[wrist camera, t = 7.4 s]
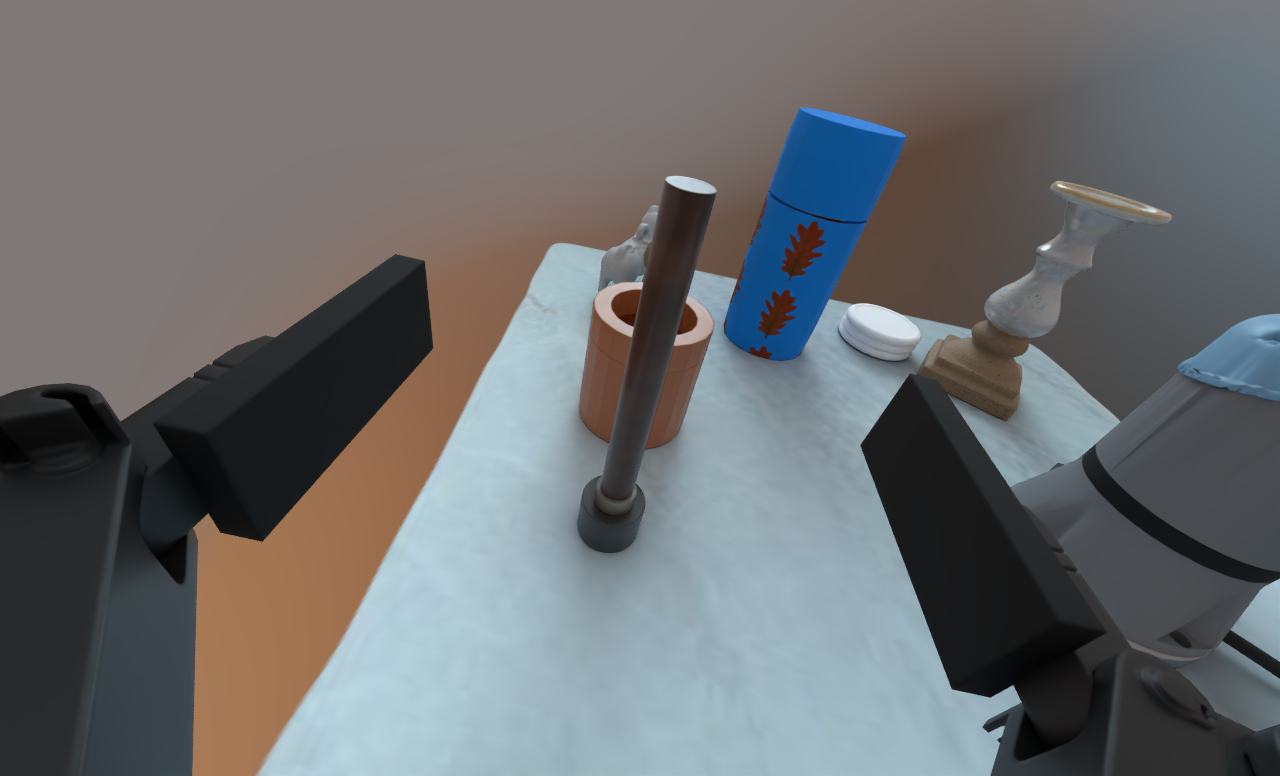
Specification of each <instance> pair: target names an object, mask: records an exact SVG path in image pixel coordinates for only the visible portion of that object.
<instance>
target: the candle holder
mask: <svg viewBox="0 0 1280 776" xmlns="http://www.w3.org/2000/svg"><path fill="white" fill-rule="evenodd" d="M1050 192H1051V193H1053V194H1054V195H1056V196H1058V197H1060V198H1062V199H1064V200H1067V201H1068V206H1067V208H1066V210H1065V213H1064V217H1065V224H1064V227H1063V229H1062V231H1061V232H1060V234H1059V235H1058V236H1057V237H1055V238H1054V239H1053V240H1051V241H1050V242H1048V243H1046V244H1044V245H1041V246H1039V247H1038V248H1037V252H1038V256H1037V258H1036V265H1035V267H1034V269H1033V271H1031V272H1030V273H1029V274H1027V275H1026V276H1024V277H1023V278H1021V279H1019V280H1018V281H1015V282H1013V283H1012V284H1009V285H1007V286H1005V287H1003V288H1001V289H999V290H997V291H996V292H994V293H993V294H992V295H991V296H990V297H989V298H988V299H987V301H986V302H985V305H984V310H985V314H986V316H987V318H988V320H985V321H982V322H979V323H978V324H976V325H975V326H974V327H973V329H972V337H973V338H962V339H961V338H959V337H956V336H954V335H948V336H947V337H946V339H945V340H942V339H938V340H937V341H936V342H935V344H934V345H933V346H932V348H931V349H930V351H929V352H928V354H927V356H926V358H925V360H924V361H923V363H922V365H921V367H920V369H919V371H918V374H917V375H918V376H923V377H927V378H931V379H936V380H938V381H939V383H940V384H941V386H942V387H943V389H944V390H945V392H947V393H949V394H951V395H953V396H955V397H957V398H959V399H961V400H964V401H966V402H968V403H970V404H972V405H974V406H976V407H978V408H980V409H982V410H984V411H986V412H988V413H990V414H992V415H995V416H997V417H999V418H1001V419H1004V420H1008V418H1009V417H1010V416H1011V415H1012V414H1013V413H1014V412H1015V411H1016V409H1017V407H1018V402H1019V393H1020V386H1021V381H1022V367H1021V365H1019V364H1018V363H1016V361H1015V360H1014V358H1013V357H1017V356H1020V355H1022V354H1024V353H1025V352H1026V351H1027V349H1028V346H1029V343H1028V339H1027V338H1028V337H1038V336H1041V335H1044V334H1047V333H1048V332H1050V331H1051V330H1052V329H1053V328H1054V327H1055V326H1056V324H1057V322H1058V320H1059V315H1060V305H1061V302H1060V301H1061V293H1062V289H1063V286H1064V284H1065V282H1066V281H1068V280H1069V279H1070V278H1072V277H1073V276H1075V275H1078V274H1079V273H1080V272H1081V271H1082V270H1088V269H1090V268H1091V267H1092V256H1093V252H1094V250H1095V248H1096V246H1097V245H1098V244H1099V243H1100V242H1101V241H1103V240H1104V239H1105V238H1107V237H1109V236H1111V235H1113V234H1116V233H1119V232H1120V231H1122V230H1124V229H1125V228H1126V227H1127V226H1128V225H1130V224H1132V223H1134V222H1136V223H1141V224H1146V225H1153V226H1163V225H1165V224H1167V223H1168V222H1169V221H1170V220H1171V218H1172V216H1171V215H1170V214H1169V213H1166V212H1164V211H1162V210H1160V209H1157V208H1155V207H1152V206H1149V205H1146V204H1144V203H1141V202H1138V201H1135V200H1132V199H1128V198H1125V197H1122V196H1119V195H1115V194H1112V193H1108V192H1105V191H1101V190H1098V189H1094V188H1090V187H1086V186H1082V185H1078V184H1073V183H1068V182H1062V181H1056V182H1054V183H1053V184H1052V186H1051V188H1050Z"/></svg>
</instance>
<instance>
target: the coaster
mask: <svg viewBox="0 0 1280 776" xmlns="http://www.w3.org/2000/svg"><path fill="white" fill-rule="evenodd" d="M839 331H840V333H841V335H842V337H843V338H844V339H845V340H846V341H847V342H848V343H849V344H850V345H852V346H853V347H855V348H856V349H858V350H860V351H861V352H863V353H866V354H868V355H870V356H873V357H876V358H879V359H883V360H889V361H899V360H904V359H906V358H908V357H909V356H910V355H911V352H912V350H914V349H915V347H916V344H917V343H918V342H919V341H920V339H921V333H920V331H919V329H918V328H917V327H916V326H915V325H914V324H913V323H912V322H911V321H910V320H908V319H907V318H905V317H904V316H902V315H900V314H898V313H896V312H894V311H892V310H889V309H886V308H884V307H880V306H877V305H872V304H863V303H862V304H855V305H852V306H850V307H849V308H848V309H847V312H846V314H845V316H844V317H843V321H842V322H841V323H840V325H839Z"/></svg>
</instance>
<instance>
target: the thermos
mask: <svg viewBox="0 0 1280 776" xmlns="http://www.w3.org/2000/svg"><path fill="white" fill-rule="evenodd" d="M905 139H906V135H904V134H902V133H900V132H898V131H895V130H892V129H889V128H887V127H883V126H880V125H877V124H874V123H870V122H867V121H863V120H860V119H856V118H852V117H848V116H844V115H840V114H836V113H831V112H827V111H822V110H816V109H811V108H799V110H798V112H797V114H796V117H795V119H794V121H793V123H792V125H791V127H790V130H789V133H788V136H787V139H786V142H785V145H784V147H783V150H782V154H781V156H780V159H779V162H778V165H777V168H776V171H775V173H774V176H773V179H772V182H771V185H770V188H769V191H768V194H767V197H766V199H765V202H764V205H763V208H762V211H761V214H760V217H759V220H758V223H757V225H756V228H755V231H754V234H753V237H752V240H751V243H750V246H749V249H748V251H747V254H746V257H745V260H744V263H743V266H742V269H741V272H740V275H739V277H738V280H737V283H736V286H735V289H734V292H733V295H732V298H731V301H730V305H729V308H728V312H727V315H726V319H725V322H724V331H725V333H726V335H727V336H728V338H729V339H730V340H731V341H732V342H733V343H735V344H736V345H737V346H738V347H740V348H741V349H743V350H745V351H747V352H749V353H751V354H753V355H756V356H760V357H763V358H766V359H773V360H788V359H793V358H795V357H797V356H798V355H800V353H801V351H802V350H803V348H804V346H805V344H806V343H807V341H808V339H809V337H810V336H811V334H812V332H813V330H814V328H815V326H816V324H817V322H818V320H819V318H820V316H821V314H822V312H823V310H824V308H825V306H826V304H827V302H828V300H829V298H830V296H831V294H832V292H833V290H834V288H835V286H836V284H837V282H838V280H839V278H840V276H841V274H842V271H843V269H844V267H845V265H846V263H847V261H848V259H849V257H850V255H851V253H852V251H853V249H854V247H855V245H856V243H857V241H858V239H859V237H860V235H861V233H862V231H863V229H864V227H865V225H866V223H867V220H868V219H869V216H870V215H871V212H872V211H873V208H874V206H875V204H876V202H877V200H878V198H879V196H880V194H881V192H882V190H883V188H884V186H885V184H886V182H887V180H888V178H889V176H890V174H891V172H892V170H893V168H894V165H895V164H896V162H897V160H898V158H899V154H900V152H901V149H902V147H903V144H904V141H905Z"/></svg>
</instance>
